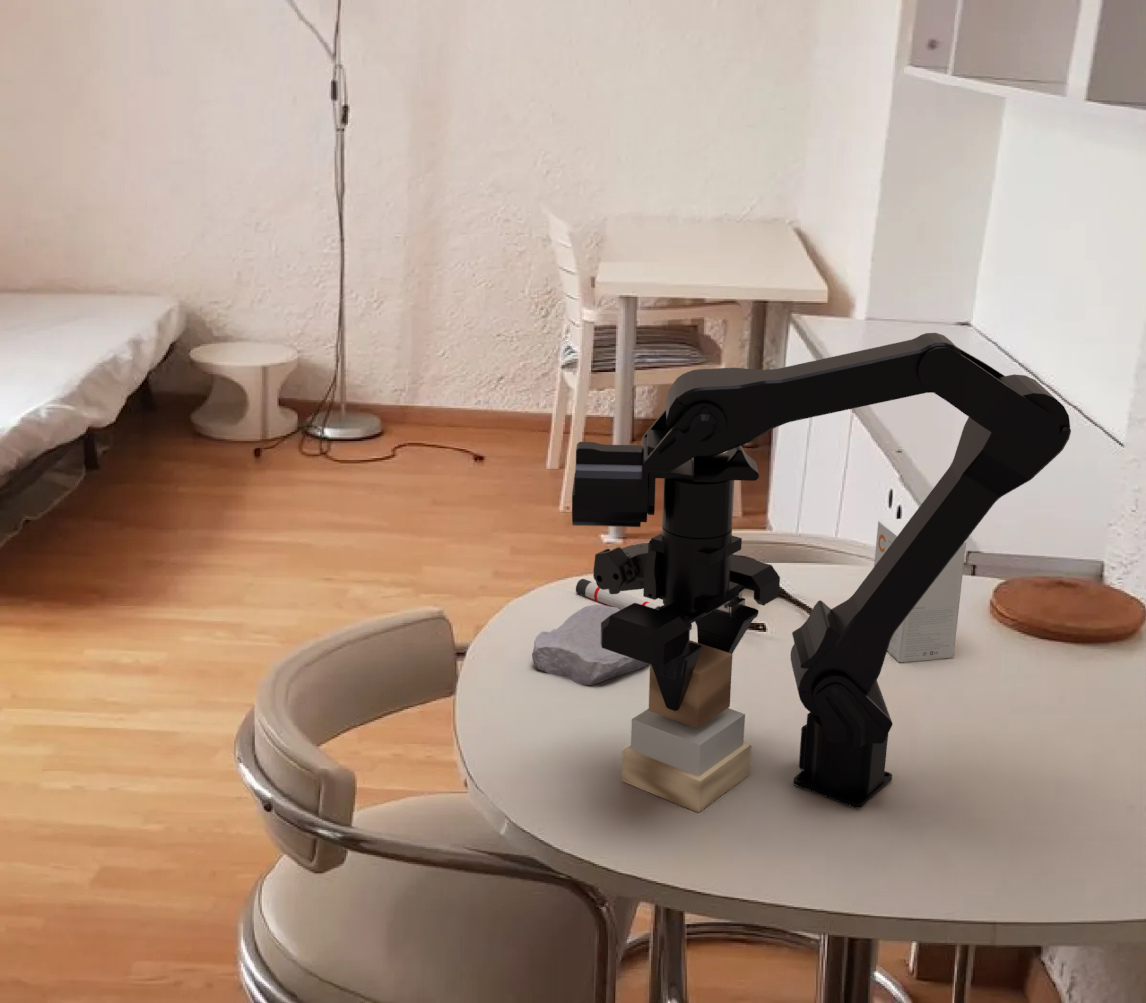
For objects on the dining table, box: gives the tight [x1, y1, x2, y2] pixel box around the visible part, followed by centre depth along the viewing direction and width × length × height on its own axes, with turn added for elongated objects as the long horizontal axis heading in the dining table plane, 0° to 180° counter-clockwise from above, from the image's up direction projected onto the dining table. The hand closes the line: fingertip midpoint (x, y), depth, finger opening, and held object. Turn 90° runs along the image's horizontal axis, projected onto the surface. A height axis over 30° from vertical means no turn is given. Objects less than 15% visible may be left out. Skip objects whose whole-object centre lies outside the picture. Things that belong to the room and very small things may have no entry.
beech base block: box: [621, 741, 752, 813], centre depth 121 cm, size 8×8×3 cm
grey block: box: [630, 707, 746, 777], centre depth 120 cm, size 7×7×3 cm
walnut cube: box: [648, 639, 733, 728], centre depth 119 cm, size 5×5×5 cm
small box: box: [873, 517, 967, 663], centre depth 146 cm, size 8×6×13 cm
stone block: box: [531, 604, 649, 686], centre depth 143 cm, size 12×5×10 cm
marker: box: [575, 578, 662, 610], centre depth 156 cm, size 15×2×2 cm, turn 47°
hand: (690, 697), depth 119 cm, fingers closed on walnut cube, 5 cm apart
